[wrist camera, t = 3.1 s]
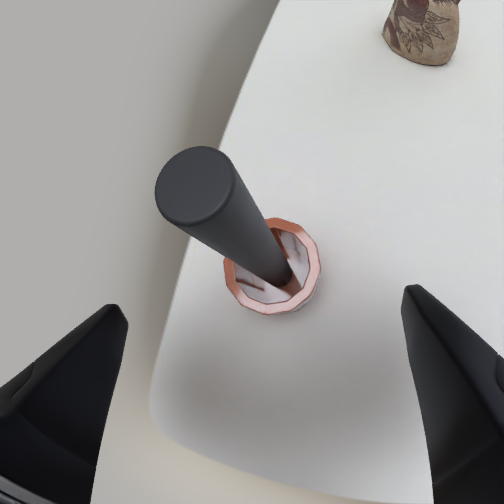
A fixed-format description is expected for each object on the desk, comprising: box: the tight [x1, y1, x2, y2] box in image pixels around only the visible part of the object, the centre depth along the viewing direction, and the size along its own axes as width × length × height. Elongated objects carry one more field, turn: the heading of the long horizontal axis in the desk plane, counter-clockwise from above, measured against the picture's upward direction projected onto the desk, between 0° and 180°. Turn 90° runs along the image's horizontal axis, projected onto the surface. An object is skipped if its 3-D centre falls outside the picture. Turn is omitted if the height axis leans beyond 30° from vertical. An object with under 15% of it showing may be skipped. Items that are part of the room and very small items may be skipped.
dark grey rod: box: [155, 146, 294, 289], centre depth 11 cm, size 2×2×14 cm
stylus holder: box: [223, 218, 321, 315], centre depth 16 cm, size 4×4×5 cm
